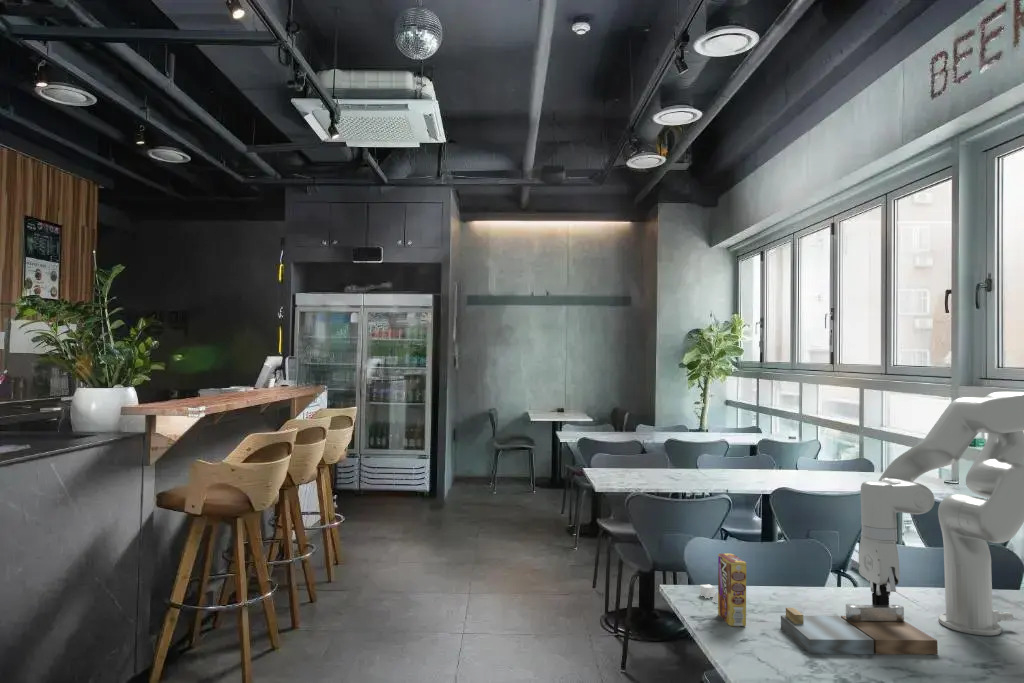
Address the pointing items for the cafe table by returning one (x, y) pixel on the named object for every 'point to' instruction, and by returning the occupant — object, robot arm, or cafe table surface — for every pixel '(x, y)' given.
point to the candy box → (732, 589)
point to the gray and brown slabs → (855, 635)
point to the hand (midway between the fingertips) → (880, 610)
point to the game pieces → (709, 592)
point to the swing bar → (874, 612)
